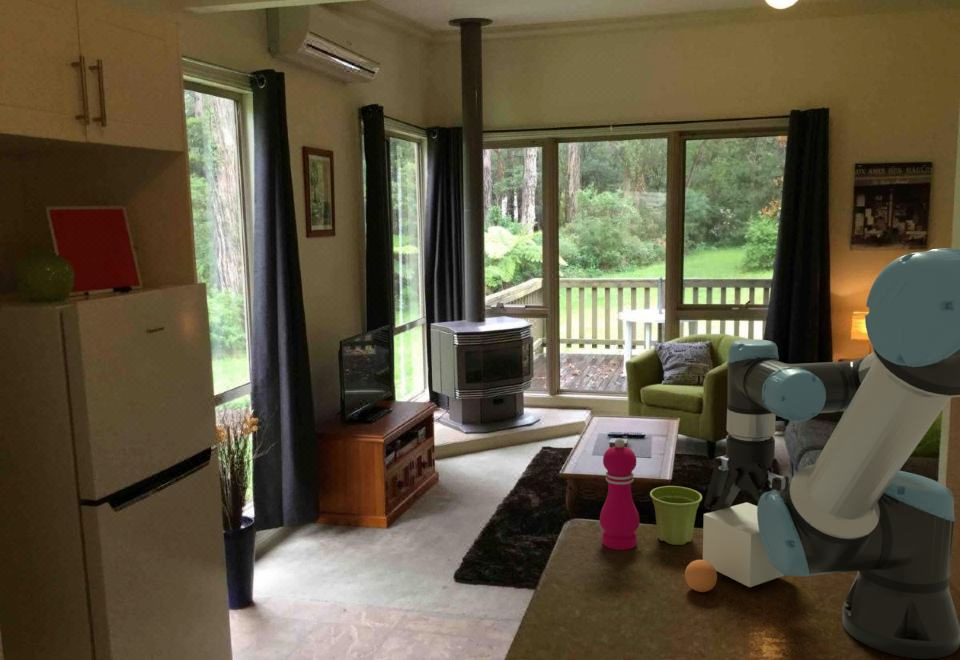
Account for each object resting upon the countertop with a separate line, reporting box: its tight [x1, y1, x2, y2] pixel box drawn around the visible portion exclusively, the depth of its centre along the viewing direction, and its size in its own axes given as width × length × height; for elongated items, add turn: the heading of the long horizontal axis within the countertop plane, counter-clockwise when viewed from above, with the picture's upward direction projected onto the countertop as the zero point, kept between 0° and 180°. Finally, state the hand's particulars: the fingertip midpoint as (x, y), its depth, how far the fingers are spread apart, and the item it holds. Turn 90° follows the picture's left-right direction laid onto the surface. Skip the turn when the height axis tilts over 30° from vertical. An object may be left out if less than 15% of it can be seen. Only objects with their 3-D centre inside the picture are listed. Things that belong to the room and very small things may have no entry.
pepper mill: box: [599, 438, 640, 551], centre depth 149 cm, size 7×7×20 cm
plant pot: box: [649, 485, 703, 546], centre depth 151 cm, size 9×9×9 cm
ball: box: [684, 559, 718, 593], centre depth 131 cm, size 5×5×5 cm
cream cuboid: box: [702, 502, 785, 588], centre depth 135 cm, size 10×10×9 cm
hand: (747, 563), depth 136 cm, fingers closed on cream cuboid, 10 cm apart
